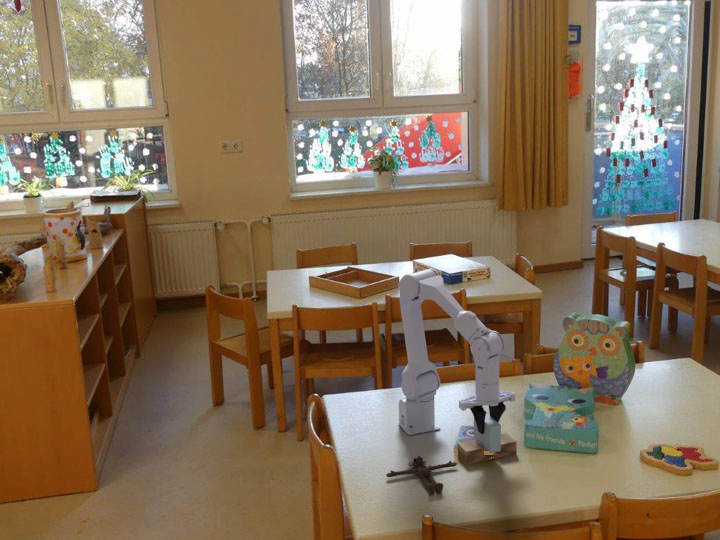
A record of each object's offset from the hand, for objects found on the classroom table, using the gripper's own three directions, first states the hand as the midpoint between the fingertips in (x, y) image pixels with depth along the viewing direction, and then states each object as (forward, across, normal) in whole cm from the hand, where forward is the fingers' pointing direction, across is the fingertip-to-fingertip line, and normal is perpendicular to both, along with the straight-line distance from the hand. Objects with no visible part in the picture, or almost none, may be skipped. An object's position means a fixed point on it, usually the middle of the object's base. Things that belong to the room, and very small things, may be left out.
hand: (487, 431), depth 189 cm
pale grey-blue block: (+3, 0, 0) cm, 4 cm away
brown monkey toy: (+7, -19, -5) cm, 21 cm away
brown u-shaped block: (+6, 0, 0) cm, 6 cm away
